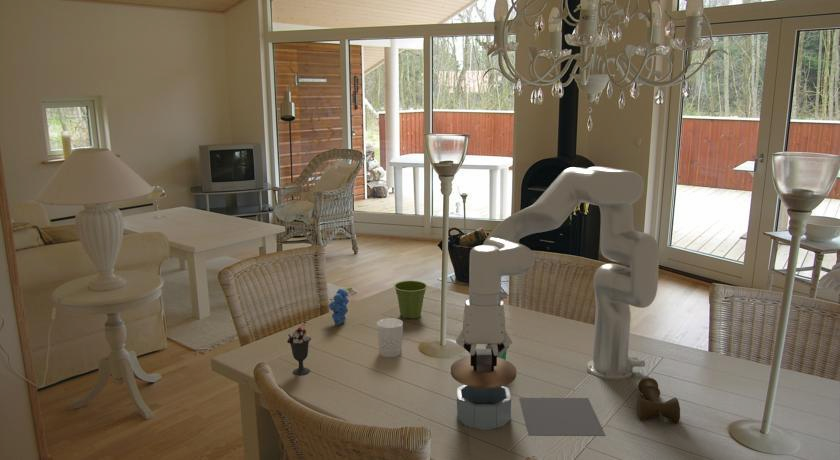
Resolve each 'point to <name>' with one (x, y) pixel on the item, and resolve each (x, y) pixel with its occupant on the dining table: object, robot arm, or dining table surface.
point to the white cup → (390, 337)
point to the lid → (483, 371)
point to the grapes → (339, 306)
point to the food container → (501, 354)
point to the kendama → (655, 403)
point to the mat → (560, 417)
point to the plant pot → (410, 298)
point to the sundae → (300, 349)
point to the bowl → (483, 407)
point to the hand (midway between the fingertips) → (483, 367)
